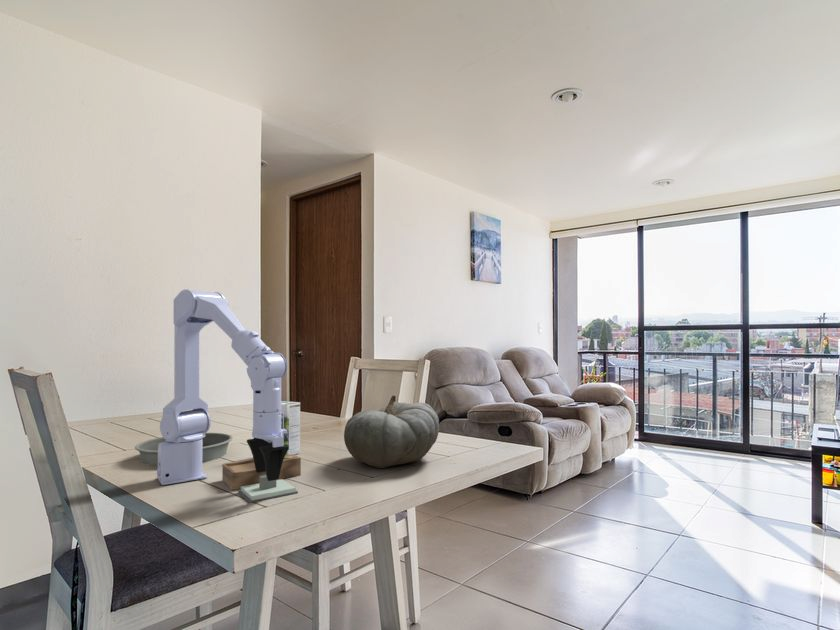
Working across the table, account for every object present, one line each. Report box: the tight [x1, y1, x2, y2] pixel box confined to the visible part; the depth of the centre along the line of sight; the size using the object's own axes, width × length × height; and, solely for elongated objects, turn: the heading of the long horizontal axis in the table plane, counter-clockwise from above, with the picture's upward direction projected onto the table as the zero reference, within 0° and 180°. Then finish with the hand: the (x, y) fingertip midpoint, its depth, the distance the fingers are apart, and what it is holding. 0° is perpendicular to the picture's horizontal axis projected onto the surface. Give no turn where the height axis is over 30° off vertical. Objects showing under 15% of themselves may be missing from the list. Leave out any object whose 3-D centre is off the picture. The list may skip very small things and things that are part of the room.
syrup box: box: [281, 400, 301, 456], centre depth 138 cm, size 6×6×14 cm
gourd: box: [343, 395, 440, 469], centre depth 129 cm, size 25×25×17 cm
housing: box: [221, 454, 302, 491], centre depth 114 cm, size 16×10×4 cm, turn 125°
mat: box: [238, 489, 299, 503], centre depth 104 cm, size 10×8×1 cm
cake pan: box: [134, 432, 234, 467], centre depth 138 cm, size 25×25×4 cm
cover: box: [240, 475, 297, 500], centre depth 104 cm, size 9×8×3 cm
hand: (267, 475), depth 104 cm, fingers open, 7 cm apart
